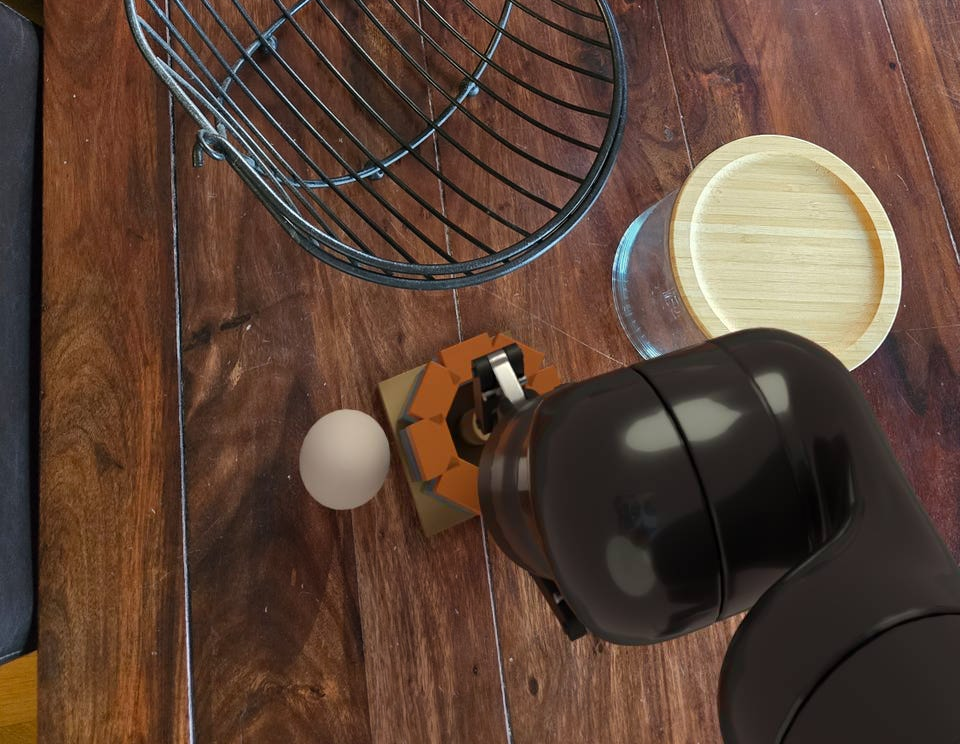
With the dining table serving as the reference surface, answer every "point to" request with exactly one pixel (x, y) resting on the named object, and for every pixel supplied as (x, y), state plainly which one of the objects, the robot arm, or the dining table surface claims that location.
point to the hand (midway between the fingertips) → (509, 486)
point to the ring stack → (464, 434)
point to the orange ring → (435, 403)
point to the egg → (344, 459)
